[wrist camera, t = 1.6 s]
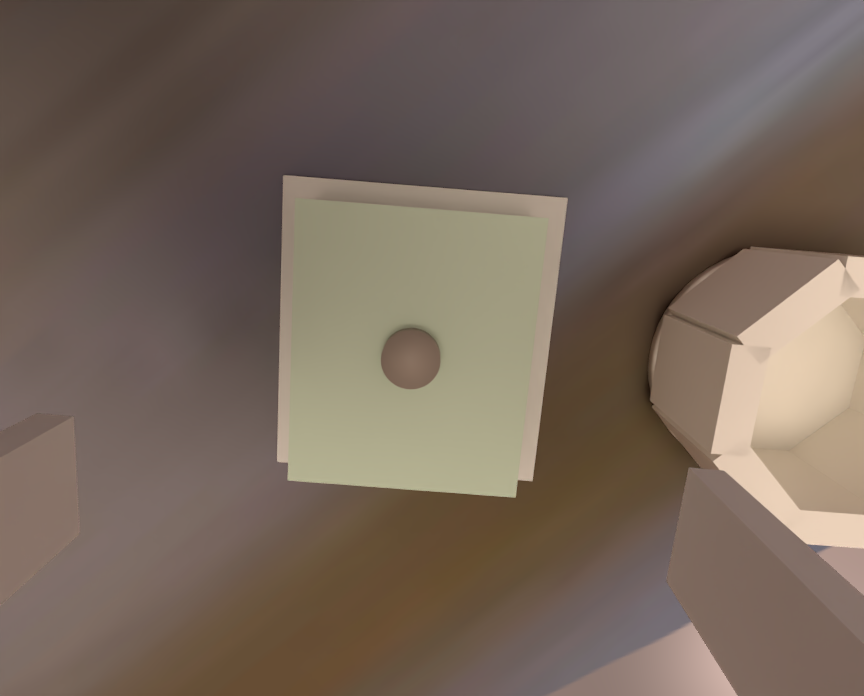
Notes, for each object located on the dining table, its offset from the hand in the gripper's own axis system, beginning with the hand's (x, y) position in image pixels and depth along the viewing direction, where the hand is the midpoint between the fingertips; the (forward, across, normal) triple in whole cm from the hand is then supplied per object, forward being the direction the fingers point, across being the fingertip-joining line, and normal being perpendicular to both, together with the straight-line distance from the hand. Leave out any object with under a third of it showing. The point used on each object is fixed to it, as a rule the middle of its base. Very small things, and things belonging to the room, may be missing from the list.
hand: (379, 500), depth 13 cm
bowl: (+17, +17, 0) cm, 24 cm away
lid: (+16, 0, 0) cm, 16 cm away
